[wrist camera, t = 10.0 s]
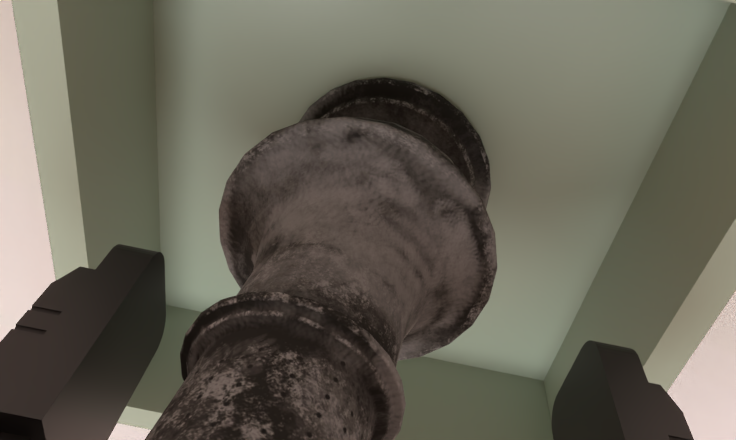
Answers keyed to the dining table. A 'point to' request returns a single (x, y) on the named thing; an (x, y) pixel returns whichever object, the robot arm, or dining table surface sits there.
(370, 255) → the salt shaker
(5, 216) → the dining table surface
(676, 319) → the caddy
